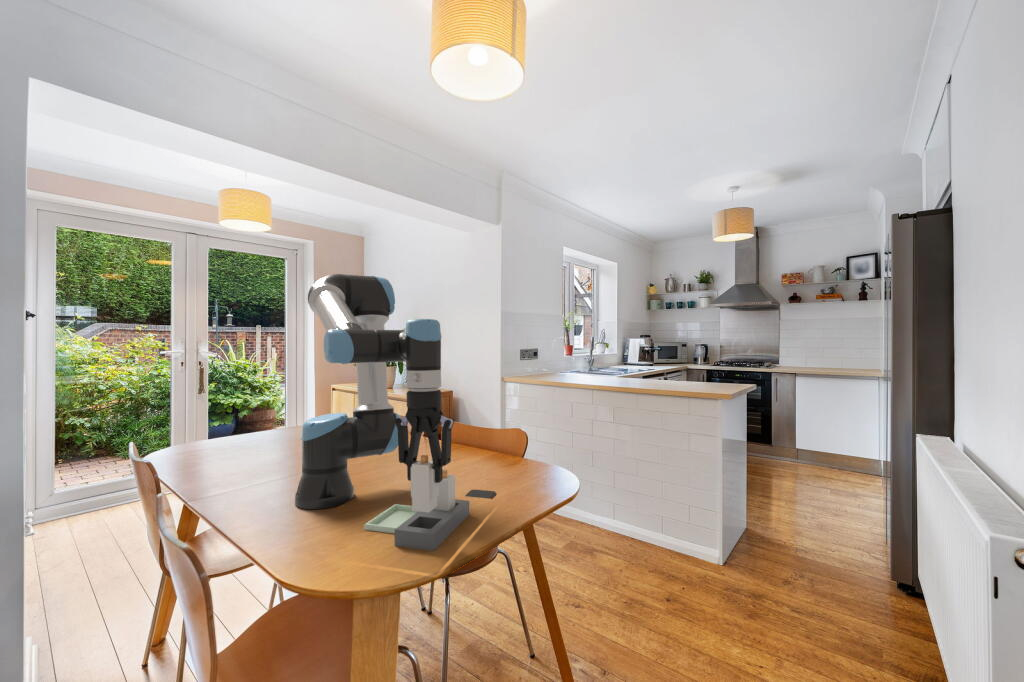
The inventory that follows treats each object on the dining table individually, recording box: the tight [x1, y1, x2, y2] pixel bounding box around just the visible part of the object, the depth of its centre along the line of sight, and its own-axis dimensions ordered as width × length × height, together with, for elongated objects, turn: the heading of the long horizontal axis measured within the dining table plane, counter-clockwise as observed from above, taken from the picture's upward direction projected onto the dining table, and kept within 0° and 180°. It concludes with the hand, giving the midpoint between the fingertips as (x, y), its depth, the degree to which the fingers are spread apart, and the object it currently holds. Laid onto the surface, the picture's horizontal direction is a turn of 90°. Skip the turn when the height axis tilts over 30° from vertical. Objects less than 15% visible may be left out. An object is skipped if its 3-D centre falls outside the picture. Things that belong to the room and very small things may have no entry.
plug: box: [411, 454, 437, 513], centre depth 96 cm, size 4×4×12 cm
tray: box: [363, 503, 418, 535], centre depth 106 cm, size 9×13×2 cm
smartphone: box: [464, 489, 497, 500], centre depth 120 cm, size 8×1×16 cm
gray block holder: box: [394, 469, 470, 552], centre depth 101 cm, size 9×20×12 cm, turn 164°
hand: (425, 495), depth 96 cm, fingers closed on plug, 4 cm apart
